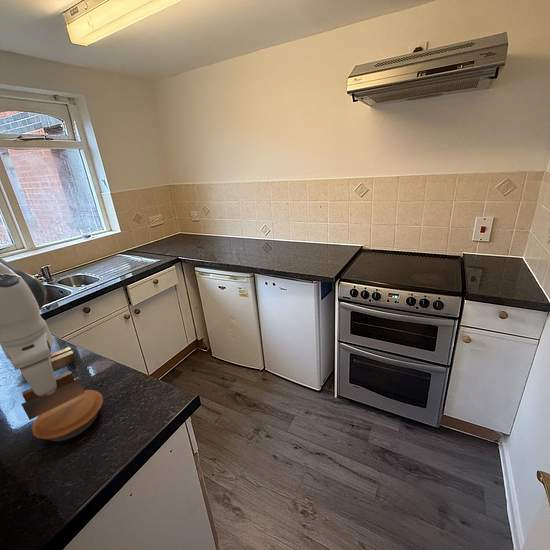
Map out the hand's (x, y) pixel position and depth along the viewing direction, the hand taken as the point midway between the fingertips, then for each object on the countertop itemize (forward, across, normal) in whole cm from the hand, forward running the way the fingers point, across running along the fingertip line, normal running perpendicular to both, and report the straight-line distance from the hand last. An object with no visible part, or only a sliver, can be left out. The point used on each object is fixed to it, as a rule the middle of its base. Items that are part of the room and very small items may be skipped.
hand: (50, 389), depth 74 cm
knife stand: (+11, -31, 0) cm, 33 cm away
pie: (+11, +2, +2) cm, 11 cm away
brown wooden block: (+5, 0, 0) cm, 5 cm away
